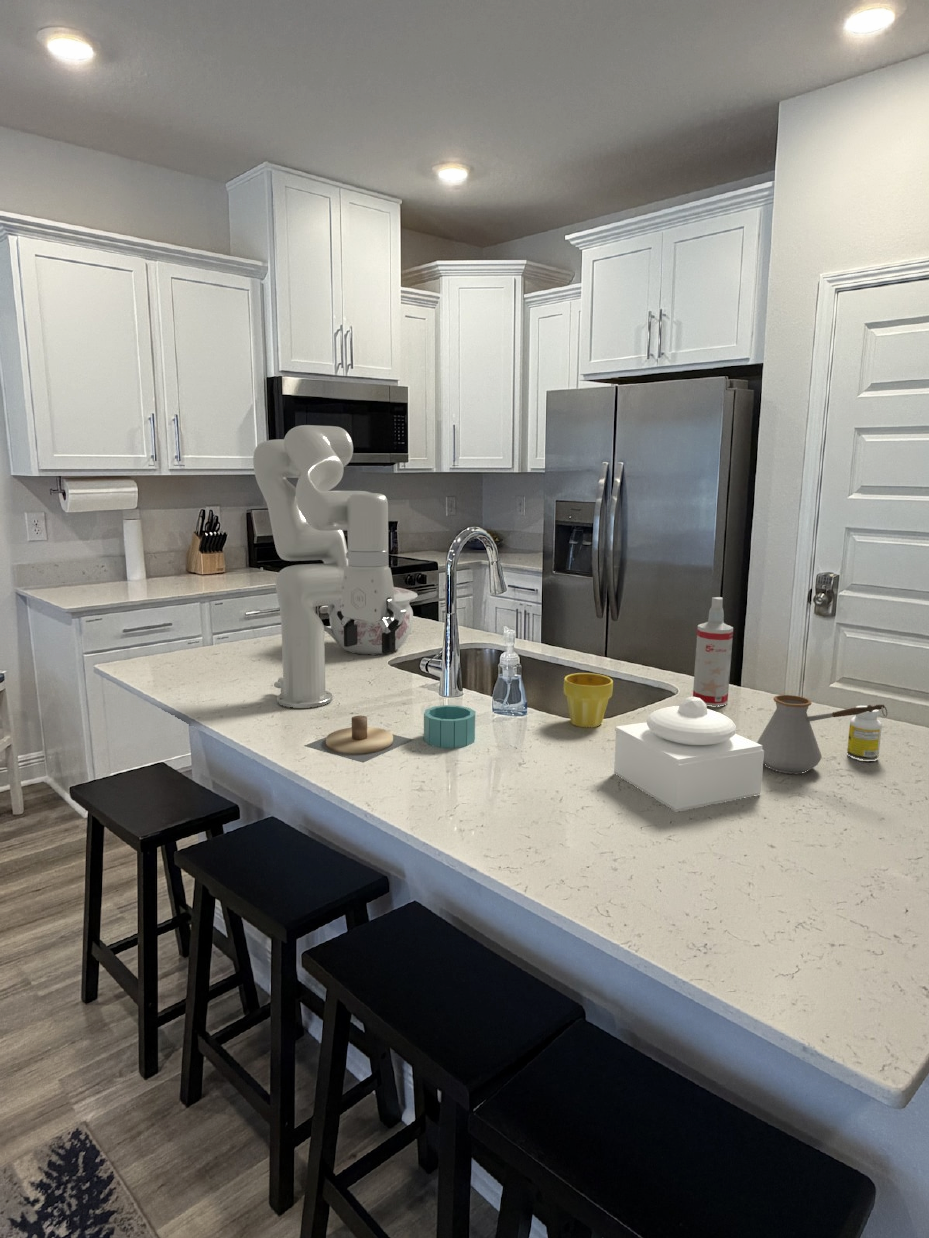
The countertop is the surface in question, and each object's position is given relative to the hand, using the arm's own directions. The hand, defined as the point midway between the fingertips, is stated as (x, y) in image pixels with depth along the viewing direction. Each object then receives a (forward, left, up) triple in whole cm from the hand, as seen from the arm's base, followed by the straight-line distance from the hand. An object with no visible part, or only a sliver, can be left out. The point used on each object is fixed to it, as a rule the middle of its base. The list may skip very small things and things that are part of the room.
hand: (369, 649), depth 151 cm
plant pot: (+28, +38, -20) cm, 51 cm away
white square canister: (+57, +17, -20) cm, 63 cm away
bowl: (+11, +11, -19) cm, 25 cm away
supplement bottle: (+80, +50, -20) cm, 97 cm away
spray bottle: (+45, +69, -20) cm, 85 cm away
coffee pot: (+74, +36, -20) cm, 85 cm away
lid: (-2, -1, -19) cm, 19 cm away
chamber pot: (-54, +63, -20) cm, 85 cm away
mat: (-2, -1, -19) cm, 19 cm away
